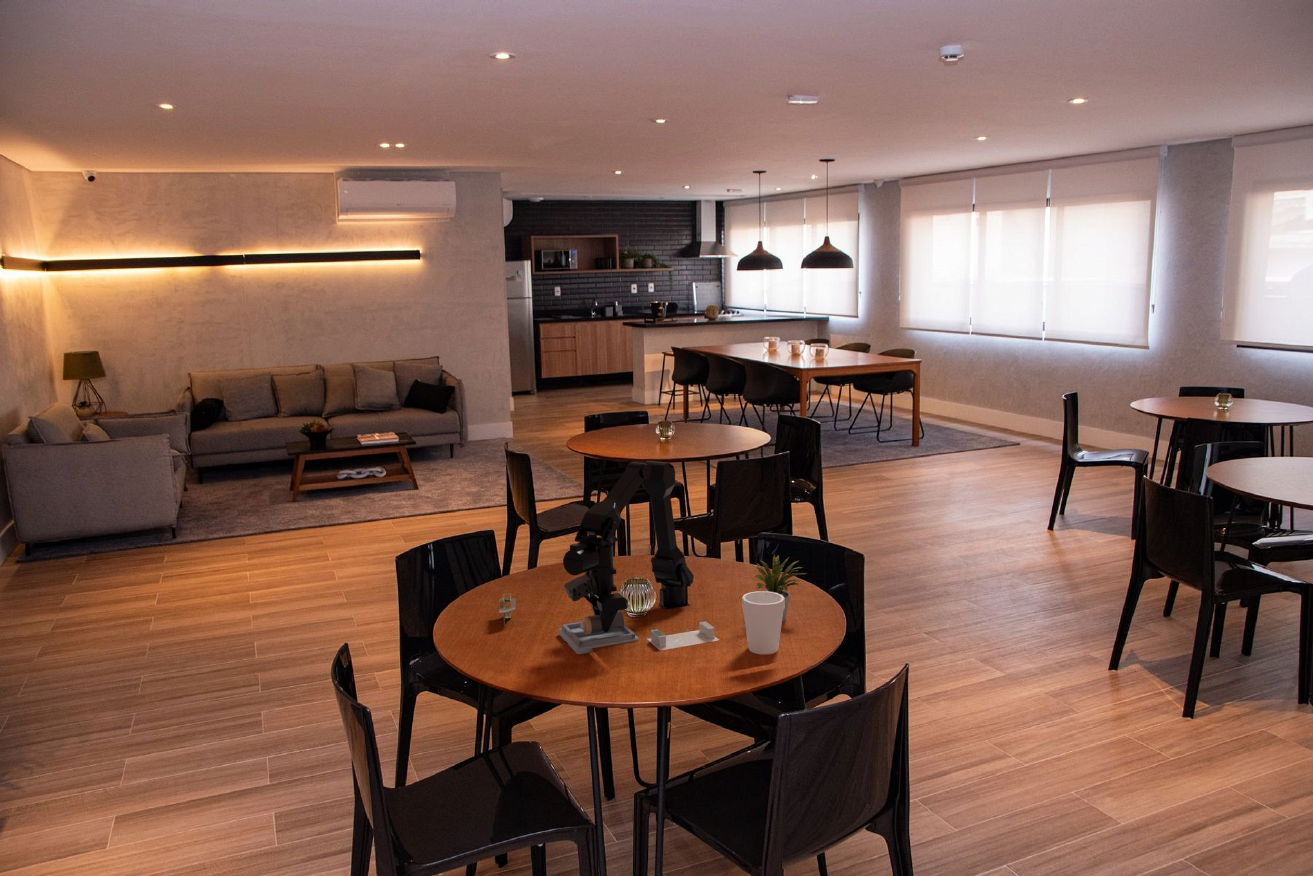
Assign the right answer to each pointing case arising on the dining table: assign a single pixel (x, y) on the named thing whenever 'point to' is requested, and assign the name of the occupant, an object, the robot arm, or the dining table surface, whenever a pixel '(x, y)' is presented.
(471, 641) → the dining table surface
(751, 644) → the foam cup
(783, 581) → the house plant
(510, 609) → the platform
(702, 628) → the checker cradle
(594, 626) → the battery cell
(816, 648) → the dining table surface
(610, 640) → the two-compartment grey tray
